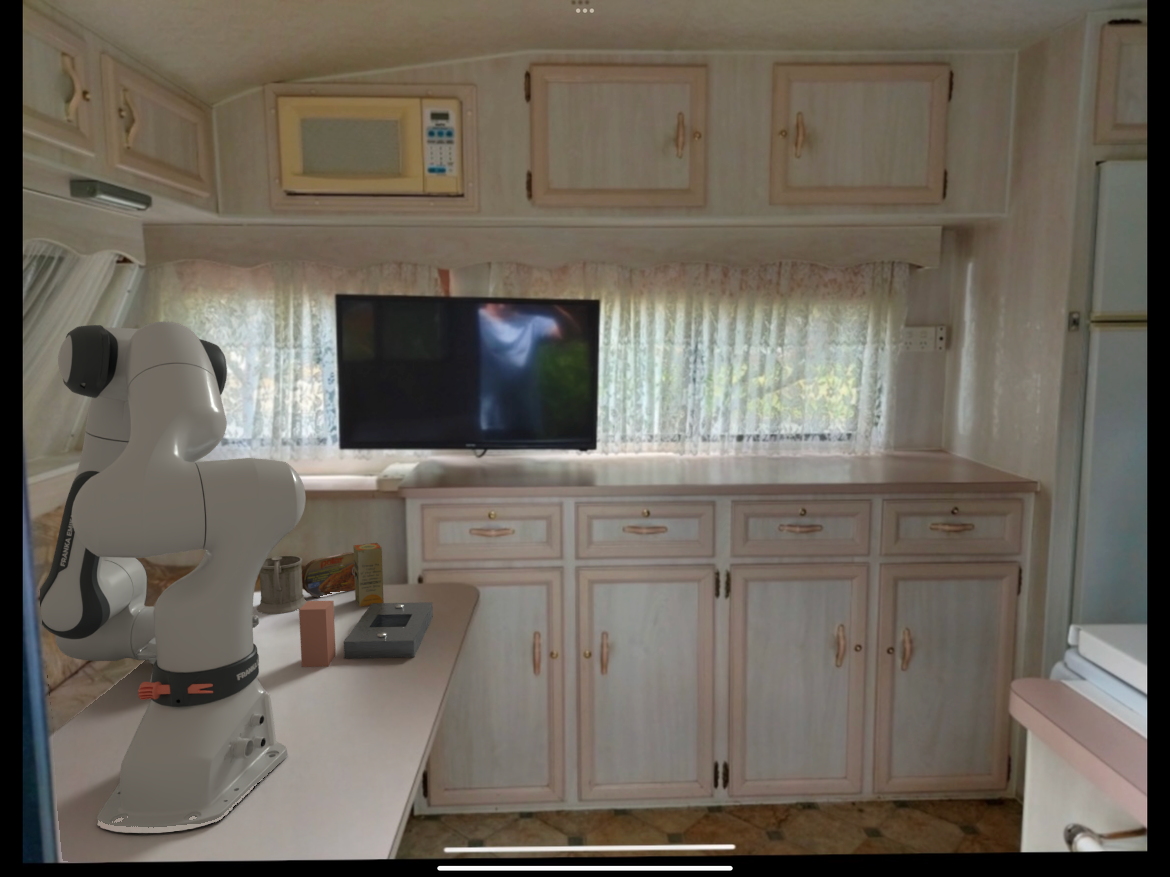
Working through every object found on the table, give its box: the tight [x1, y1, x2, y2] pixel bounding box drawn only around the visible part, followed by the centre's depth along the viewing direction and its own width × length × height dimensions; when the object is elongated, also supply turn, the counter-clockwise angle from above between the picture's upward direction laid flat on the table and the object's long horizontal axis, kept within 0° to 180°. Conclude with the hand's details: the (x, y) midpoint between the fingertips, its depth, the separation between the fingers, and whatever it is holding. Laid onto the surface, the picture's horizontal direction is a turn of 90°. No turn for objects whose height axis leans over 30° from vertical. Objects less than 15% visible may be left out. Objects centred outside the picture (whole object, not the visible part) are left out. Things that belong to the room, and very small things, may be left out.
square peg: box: [298, 600, 337, 668], centre depth 127 cm, size 4×4×10 cm
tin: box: [302, 552, 355, 598], centre depth 164 cm, size 15×3×8 cm, turn 133°
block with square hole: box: [343, 601, 434, 659], centre depth 139 cm, size 20×12×3 cm, turn 2°
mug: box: [256, 555, 308, 615], centre depth 153 cm, size 14×10×12 cm
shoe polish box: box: [353, 542, 385, 608], centre depth 158 cm, size 5×5×12 cm
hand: (246, 631), depth 126 cm, fingers open, 8 cm apart
